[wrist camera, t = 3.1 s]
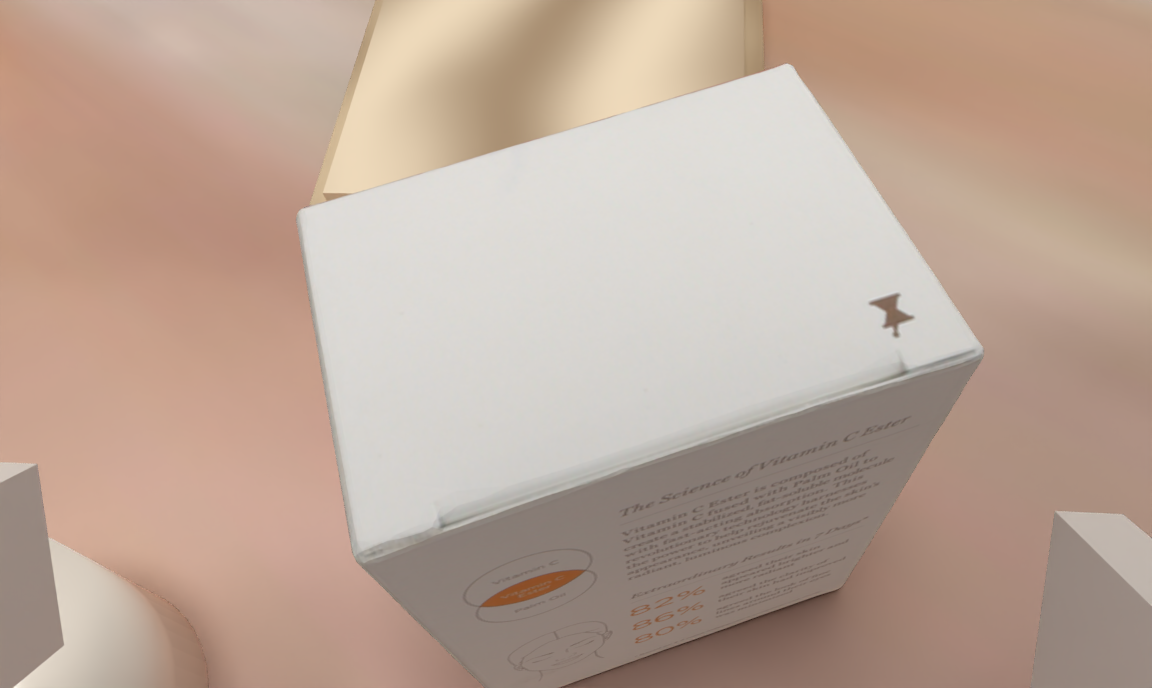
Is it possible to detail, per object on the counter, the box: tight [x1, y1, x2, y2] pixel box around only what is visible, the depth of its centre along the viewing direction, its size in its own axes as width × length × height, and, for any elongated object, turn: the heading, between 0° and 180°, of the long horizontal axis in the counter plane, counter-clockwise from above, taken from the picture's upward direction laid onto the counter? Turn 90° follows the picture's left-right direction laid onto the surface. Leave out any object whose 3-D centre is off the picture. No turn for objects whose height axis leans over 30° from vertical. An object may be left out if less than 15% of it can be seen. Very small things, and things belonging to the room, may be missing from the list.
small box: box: [296, 63, 984, 688], centre depth 16 cm, size 8×6×10 cm
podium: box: [309, 0, 764, 206], centre depth 26 cm, size 12×12×3 cm
